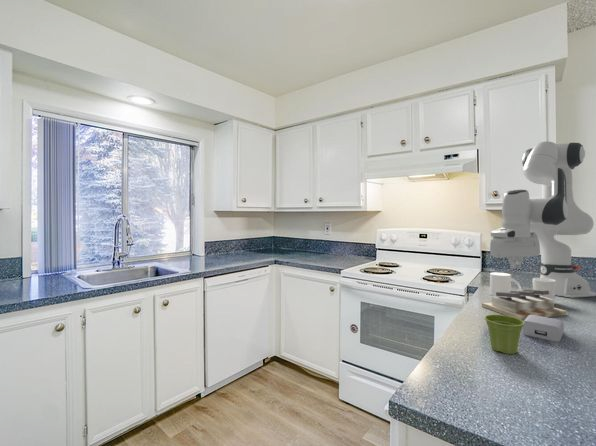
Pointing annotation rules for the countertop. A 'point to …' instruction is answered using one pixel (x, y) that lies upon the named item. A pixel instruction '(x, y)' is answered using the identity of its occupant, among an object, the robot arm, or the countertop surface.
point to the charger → (543, 327)
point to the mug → (501, 283)
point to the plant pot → (504, 332)
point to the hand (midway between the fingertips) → (515, 268)
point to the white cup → (545, 286)
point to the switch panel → (522, 317)
